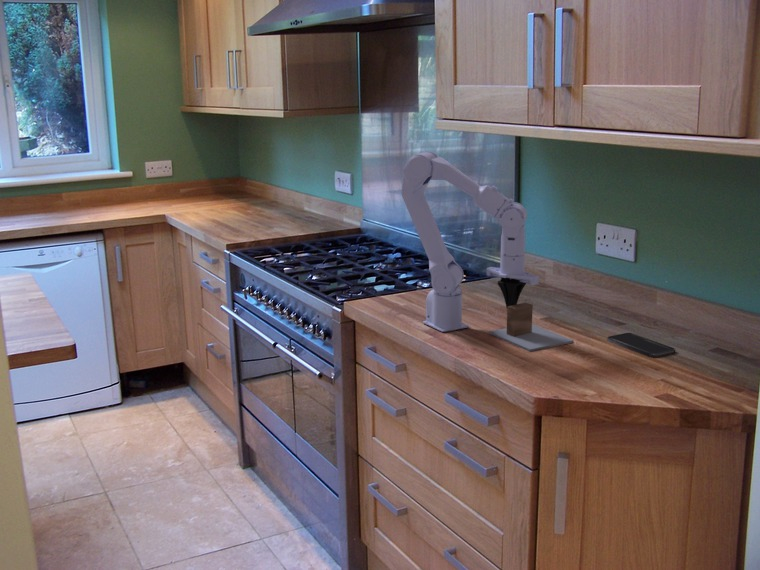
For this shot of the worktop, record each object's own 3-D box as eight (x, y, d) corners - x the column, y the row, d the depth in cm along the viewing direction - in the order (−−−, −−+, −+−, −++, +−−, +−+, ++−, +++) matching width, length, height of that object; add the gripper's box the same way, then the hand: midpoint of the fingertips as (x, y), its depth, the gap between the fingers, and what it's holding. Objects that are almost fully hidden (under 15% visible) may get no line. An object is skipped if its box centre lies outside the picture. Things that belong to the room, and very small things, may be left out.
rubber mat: (488, 333, 202) (488, 331, 202) (530, 325, 208) (530, 323, 208) (529, 351, 189) (529, 349, 189) (573, 342, 195) (573, 340, 195)
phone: (652, 355, 183) (605, 336, 196) (652, 359, 183) (605, 341, 196) (678, 349, 187) (630, 332, 200) (677, 354, 187) (630, 336, 200)
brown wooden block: (506, 334, 200) (507, 306, 198) (524, 329, 203) (525, 302, 201) (513, 336, 198) (514, 308, 196) (531, 332, 201) (532, 304, 199)
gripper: (478, 252, 201) (478, 305, 205) (526, 261, 191) (524, 317, 194) (497, 248, 206) (496, 300, 209) (544, 256, 195) (542, 311, 199)
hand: (511, 308), depth 202 cm, fingers closed
